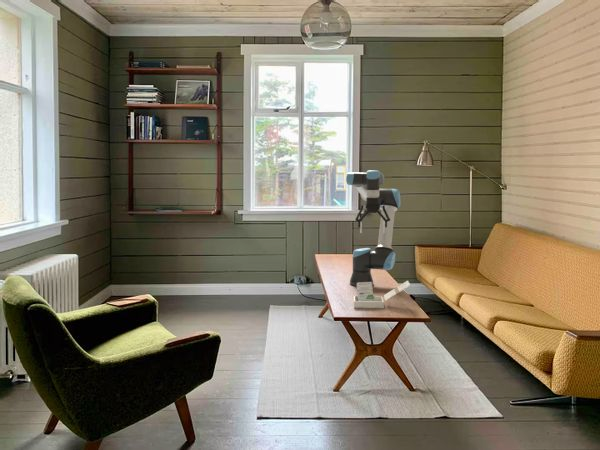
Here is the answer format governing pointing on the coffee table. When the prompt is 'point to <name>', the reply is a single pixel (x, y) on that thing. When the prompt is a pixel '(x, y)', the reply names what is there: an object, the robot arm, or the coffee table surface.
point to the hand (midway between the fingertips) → (372, 232)
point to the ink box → (365, 291)
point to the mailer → (369, 303)
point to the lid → (396, 290)
